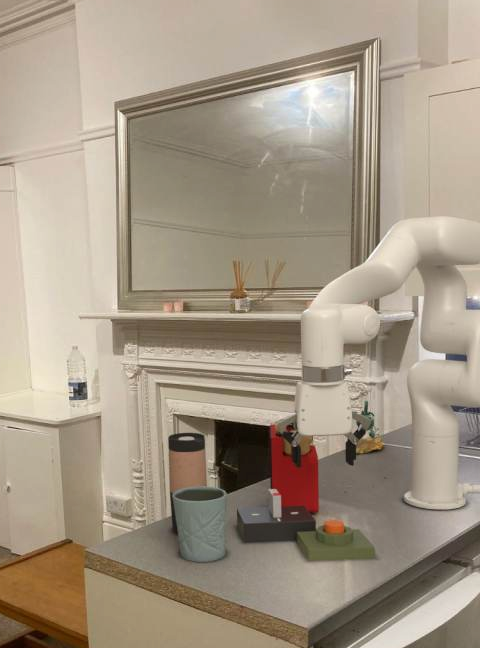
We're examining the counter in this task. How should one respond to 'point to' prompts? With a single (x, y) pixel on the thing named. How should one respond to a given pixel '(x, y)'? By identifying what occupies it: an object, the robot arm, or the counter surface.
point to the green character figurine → (372, 442)
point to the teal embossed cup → (201, 522)
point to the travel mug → (186, 464)
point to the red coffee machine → (294, 470)
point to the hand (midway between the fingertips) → (323, 464)
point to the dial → (274, 503)
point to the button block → (335, 545)
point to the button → (334, 527)
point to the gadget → (273, 524)
